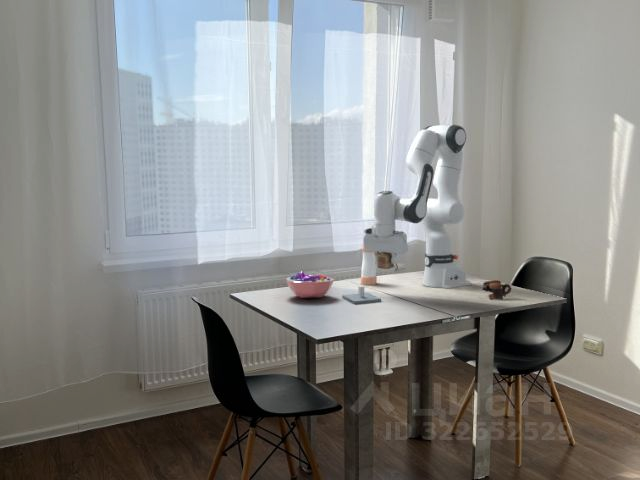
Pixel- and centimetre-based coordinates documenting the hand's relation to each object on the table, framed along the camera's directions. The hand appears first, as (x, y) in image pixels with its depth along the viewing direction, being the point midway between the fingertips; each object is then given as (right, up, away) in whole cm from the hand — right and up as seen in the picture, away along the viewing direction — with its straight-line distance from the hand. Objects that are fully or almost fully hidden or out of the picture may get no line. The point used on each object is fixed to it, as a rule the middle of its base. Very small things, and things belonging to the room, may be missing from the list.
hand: (385, 262), depth 271 cm
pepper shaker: (-5, -11, +24) cm, 27 cm away
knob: (0, -2, 0) cm, 2 cm away
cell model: (-32, -15, -3) cm, 35 cm away
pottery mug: (+46, -15, -5) cm, 48 cm away
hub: (-11, -15, -8) cm, 20 cm away
